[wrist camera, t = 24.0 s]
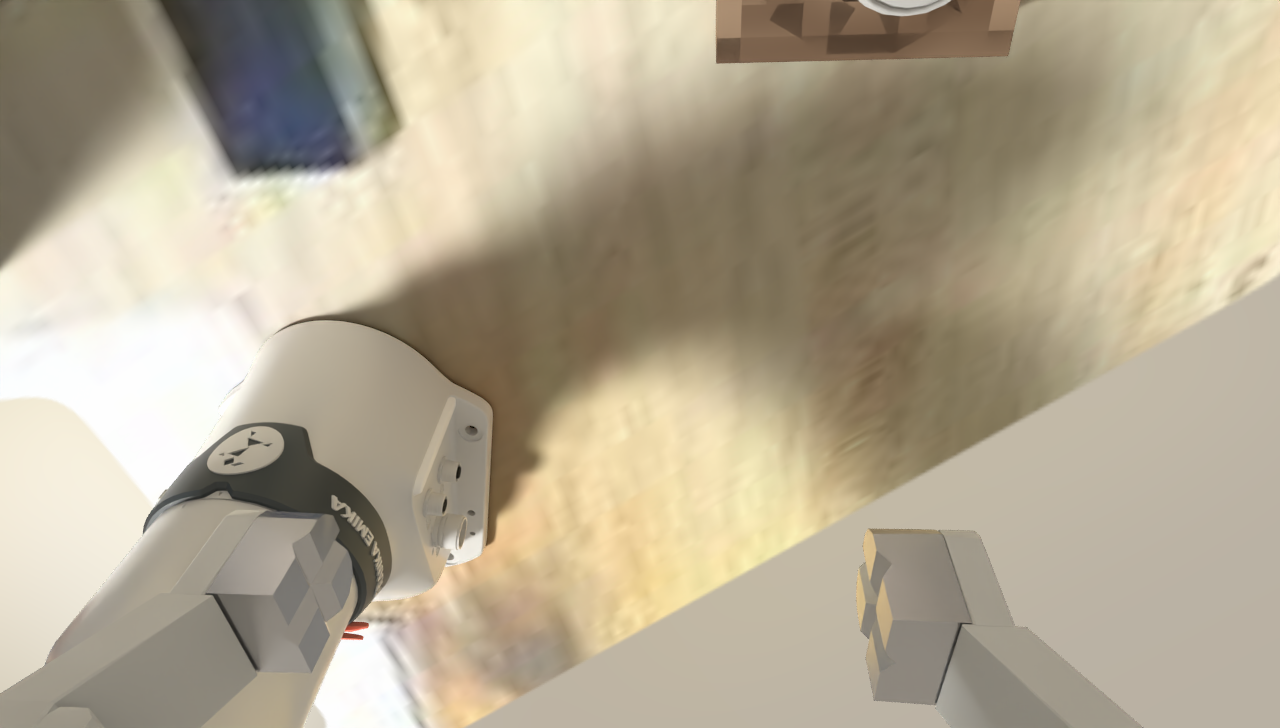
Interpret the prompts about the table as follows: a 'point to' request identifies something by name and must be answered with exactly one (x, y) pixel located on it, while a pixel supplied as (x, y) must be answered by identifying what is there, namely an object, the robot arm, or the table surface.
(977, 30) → the socket block
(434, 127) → the table surface
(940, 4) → the beverage can
